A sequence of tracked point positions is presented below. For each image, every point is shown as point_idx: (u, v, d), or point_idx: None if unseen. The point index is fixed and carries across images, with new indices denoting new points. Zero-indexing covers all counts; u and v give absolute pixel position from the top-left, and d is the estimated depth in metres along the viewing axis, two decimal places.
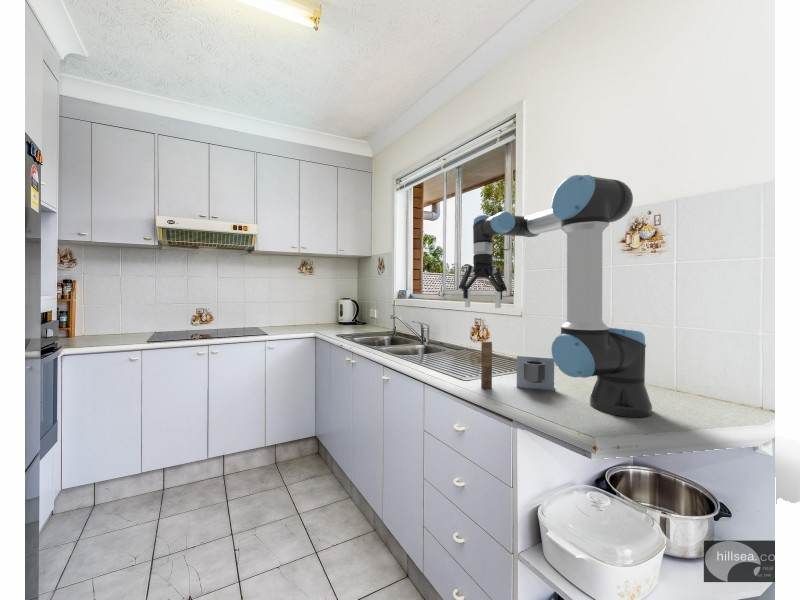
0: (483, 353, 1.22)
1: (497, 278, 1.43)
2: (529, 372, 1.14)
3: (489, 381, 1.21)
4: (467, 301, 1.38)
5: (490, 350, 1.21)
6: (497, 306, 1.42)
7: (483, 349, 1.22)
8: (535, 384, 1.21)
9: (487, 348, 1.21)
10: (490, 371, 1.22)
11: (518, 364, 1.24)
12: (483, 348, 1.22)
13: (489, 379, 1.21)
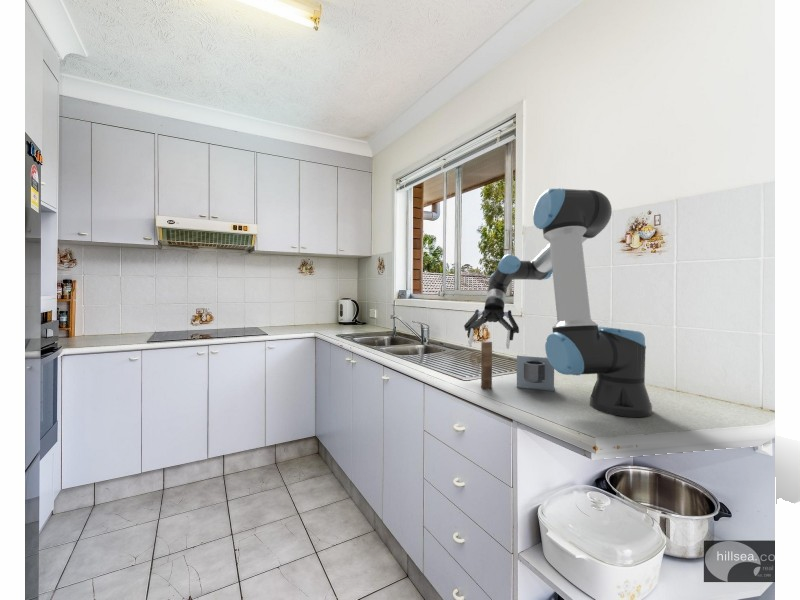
0: (483, 353, 1.22)
1: (510, 321, 1.34)
2: (529, 372, 1.14)
3: (489, 381, 1.21)
4: None
5: (490, 350, 1.21)
6: None
7: (483, 349, 1.22)
8: (535, 384, 1.21)
9: (487, 348, 1.21)
10: (490, 371, 1.22)
11: (518, 364, 1.24)
12: (483, 348, 1.22)
13: (489, 379, 1.21)
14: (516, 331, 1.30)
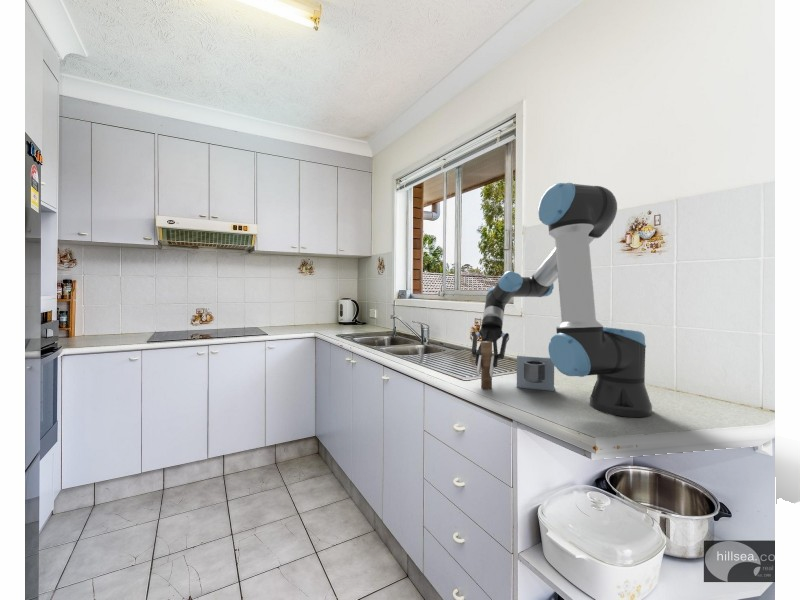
0: (483, 353, 1.22)
1: None
2: (529, 372, 1.14)
3: (489, 381, 1.21)
4: None
5: (490, 350, 1.21)
6: None
7: (483, 349, 1.22)
8: (535, 384, 1.21)
9: (487, 348, 1.21)
10: None
11: (518, 364, 1.24)
12: (483, 348, 1.22)
13: (489, 379, 1.21)
14: (500, 357, 1.22)
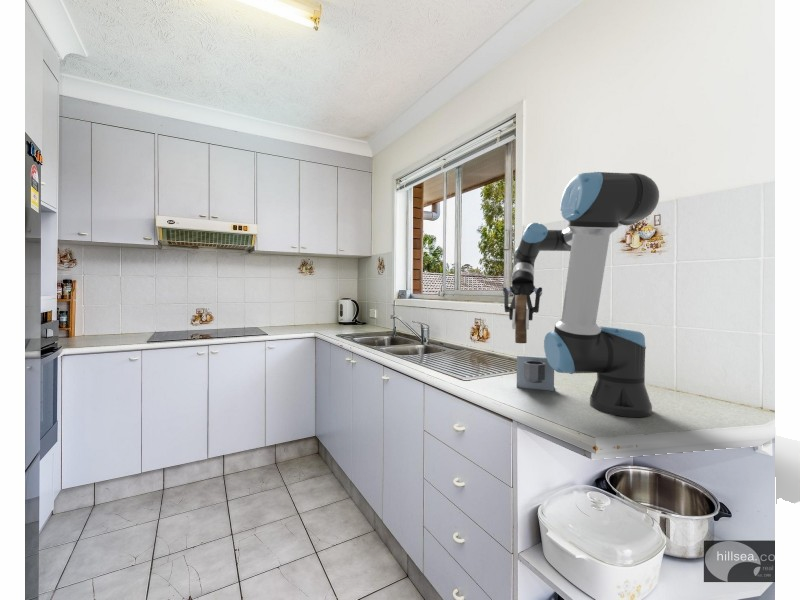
0: (518, 306, 1.17)
1: None
2: (529, 372, 1.14)
3: (525, 334, 1.17)
4: None
5: (525, 303, 1.17)
6: (526, 324, 1.15)
7: (517, 302, 1.17)
8: (535, 384, 1.21)
9: (522, 300, 1.17)
10: (525, 324, 1.17)
11: (518, 364, 1.24)
12: (517, 301, 1.17)
13: (524, 333, 1.17)
14: (535, 310, 1.18)
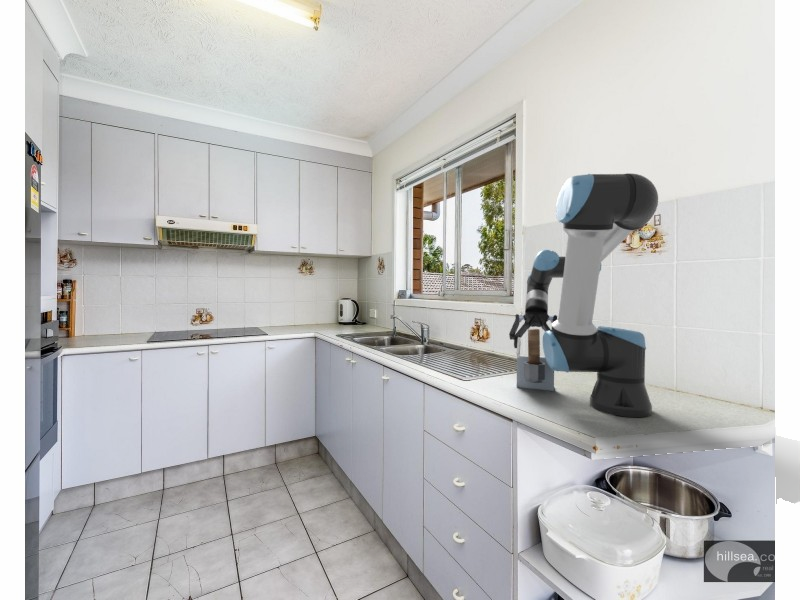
0: (530, 341, 1.15)
1: None
2: (529, 372, 1.14)
3: None
4: (517, 349, 1.17)
5: (538, 338, 1.15)
6: None
7: (530, 337, 1.15)
8: (535, 384, 1.21)
9: (535, 336, 1.15)
10: (538, 360, 1.15)
11: (518, 364, 1.24)
12: (530, 336, 1.15)
13: None
14: None
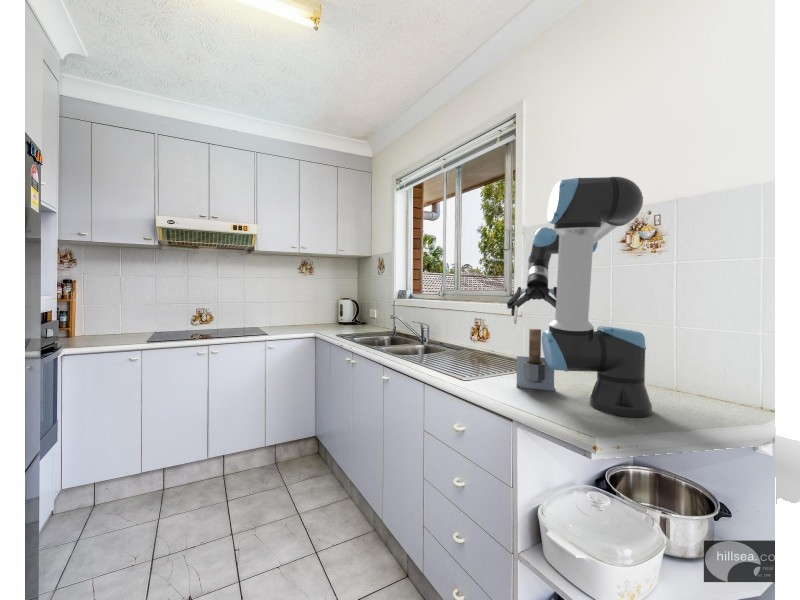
0: (532, 341, 1.15)
1: None
2: (529, 372, 1.14)
3: None
4: (514, 316, 1.27)
5: (539, 338, 1.15)
6: None
7: (532, 337, 1.15)
8: (535, 384, 1.21)
9: (537, 336, 1.15)
10: (539, 360, 1.15)
11: (518, 364, 1.24)
12: (532, 336, 1.15)
13: None
14: None
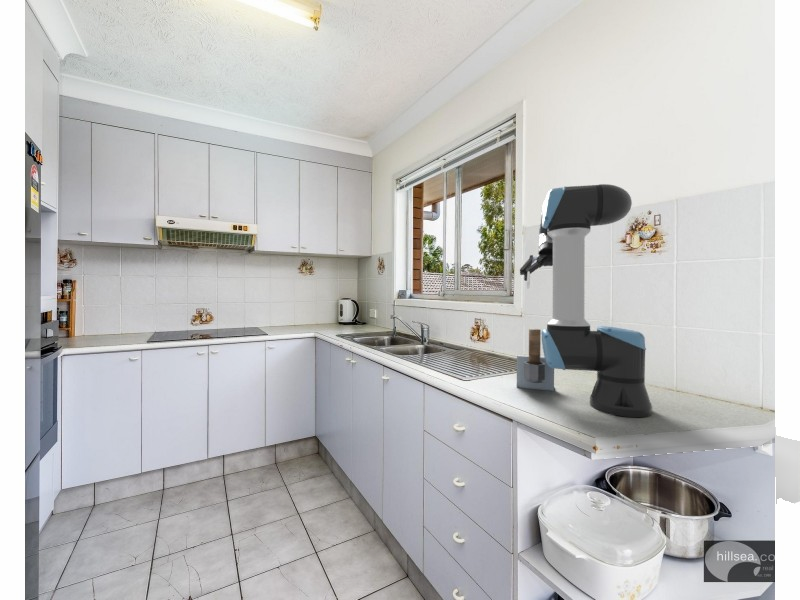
0: (531, 341, 1.15)
1: None
2: (529, 372, 1.14)
3: None
4: (527, 281, 1.34)
5: (539, 338, 1.15)
6: None
7: (531, 337, 1.15)
8: (535, 384, 1.21)
9: (536, 336, 1.15)
10: (539, 360, 1.15)
11: (518, 364, 1.24)
12: (531, 336, 1.15)
13: None
14: None
